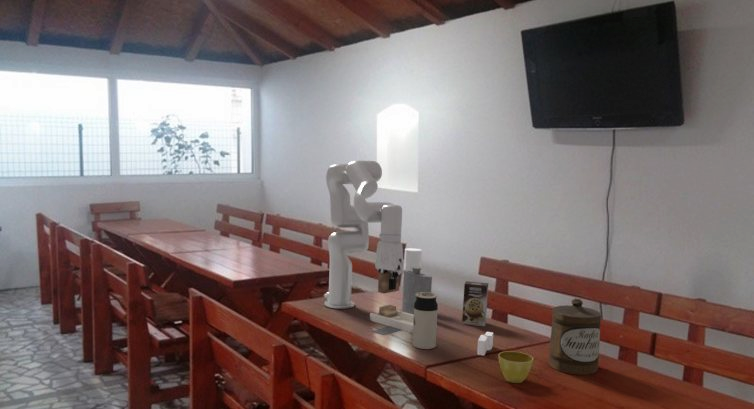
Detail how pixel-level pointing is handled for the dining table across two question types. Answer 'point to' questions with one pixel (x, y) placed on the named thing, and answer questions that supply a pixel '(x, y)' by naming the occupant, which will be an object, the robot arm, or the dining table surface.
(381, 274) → the brown wooden block
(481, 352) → the napkin holder
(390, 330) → the mat
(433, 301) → the travel mug
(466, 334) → the dining table surface
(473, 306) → the coffee box
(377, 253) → the robot arm
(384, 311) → the offcut top
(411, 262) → the cylindrical container
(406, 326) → the rack
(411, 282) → the hip flask
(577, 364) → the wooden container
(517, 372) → the flower pot
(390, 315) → the offcut low
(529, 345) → the dining table surface
